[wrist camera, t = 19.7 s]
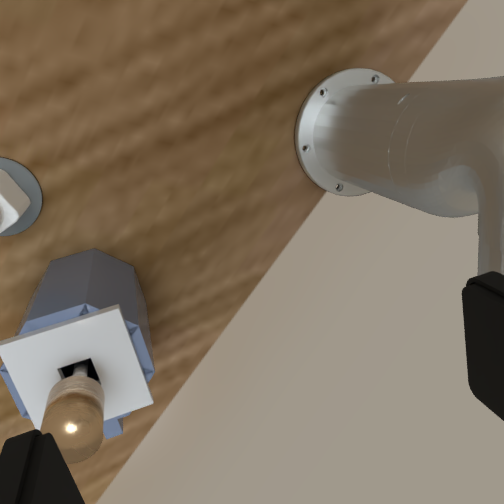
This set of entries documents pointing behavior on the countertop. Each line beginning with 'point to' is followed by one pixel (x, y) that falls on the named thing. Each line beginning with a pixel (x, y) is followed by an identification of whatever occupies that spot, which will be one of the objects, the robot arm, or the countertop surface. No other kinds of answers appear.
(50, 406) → the plunger
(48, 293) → the press pot
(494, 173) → the robot arm
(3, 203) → the pepper shaker
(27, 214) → the grey round dome
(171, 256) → the countertop surface
